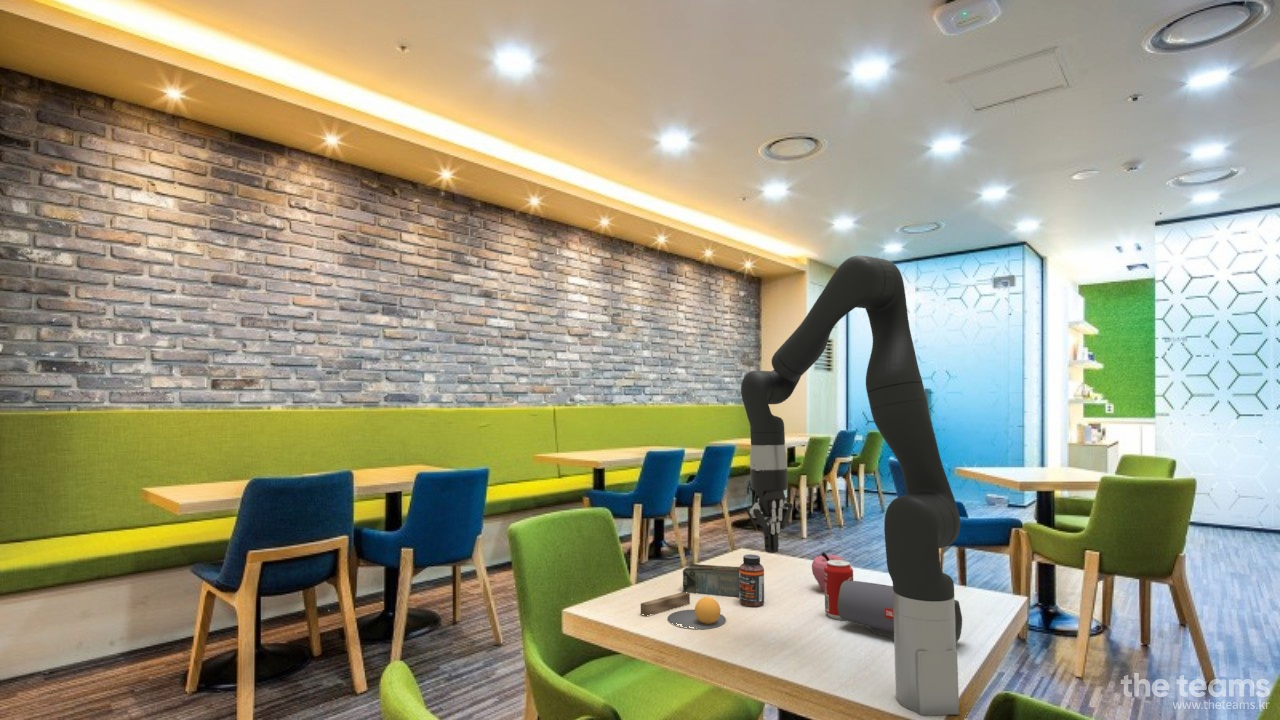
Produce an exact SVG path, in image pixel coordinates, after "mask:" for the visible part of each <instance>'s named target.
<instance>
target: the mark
mask: <svg viewBox="0 0 1280 720" xmlns="http://www.w3.org/2000/svg"><path fill="white" fill-rule="evenodd" d="M667 621H669V622H670V623H673V624H674V625H677V624H682V626H683V627H687V628H689V626H690V627H694V628H695V629H694V630H698V629H700V630H710V629H715V628H719V627H721V626H723V625H725V624H726V623H727V618H726V617H725V616H724V615H723V614H721V613H720V616H719V618H718V620H717V621H716V622H714V623H712V624H704V623H702V622H700V621H699V620H698V618H697V617H696V615H695V609H683V610H677V611H674V612H672V613H670V614H669V615H668V616H667ZM669 622H668V623H669ZM670 623H669V624H670ZM676 623H677V624H676ZM674 625H673V626H674ZM679 626H680V625H679ZM696 628H697V629H696Z"/></svg>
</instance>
